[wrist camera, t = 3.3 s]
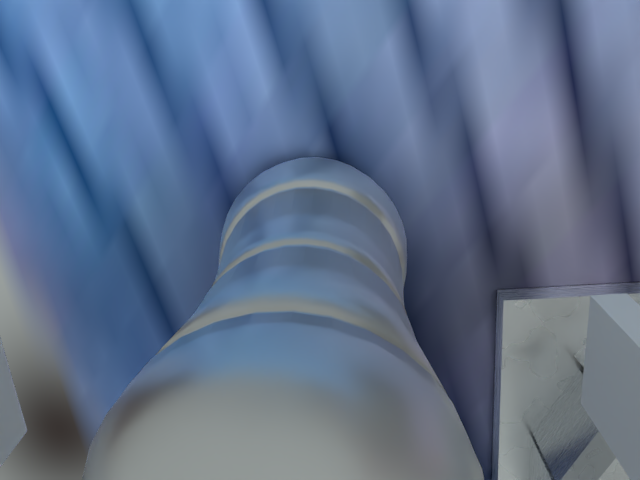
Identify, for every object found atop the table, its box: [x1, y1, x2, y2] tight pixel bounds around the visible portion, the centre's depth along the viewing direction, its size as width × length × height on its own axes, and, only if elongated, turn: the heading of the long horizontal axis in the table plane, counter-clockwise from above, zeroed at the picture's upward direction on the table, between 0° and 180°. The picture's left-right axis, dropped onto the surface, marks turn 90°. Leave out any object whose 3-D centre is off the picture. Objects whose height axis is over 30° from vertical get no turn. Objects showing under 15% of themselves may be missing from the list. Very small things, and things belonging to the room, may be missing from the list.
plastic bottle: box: [82, 157, 484, 480], centre depth 14 cm, size 6×7×20 cm
